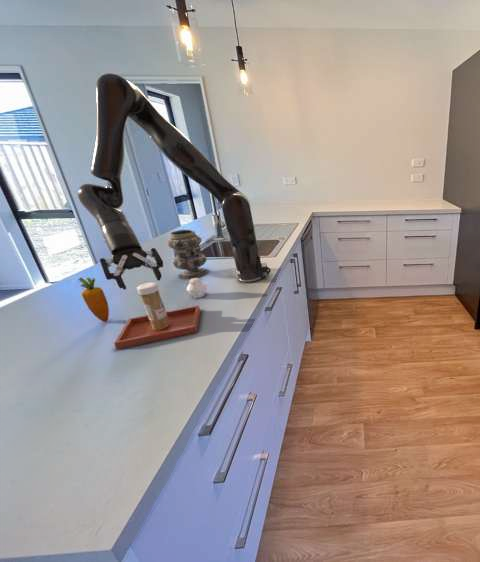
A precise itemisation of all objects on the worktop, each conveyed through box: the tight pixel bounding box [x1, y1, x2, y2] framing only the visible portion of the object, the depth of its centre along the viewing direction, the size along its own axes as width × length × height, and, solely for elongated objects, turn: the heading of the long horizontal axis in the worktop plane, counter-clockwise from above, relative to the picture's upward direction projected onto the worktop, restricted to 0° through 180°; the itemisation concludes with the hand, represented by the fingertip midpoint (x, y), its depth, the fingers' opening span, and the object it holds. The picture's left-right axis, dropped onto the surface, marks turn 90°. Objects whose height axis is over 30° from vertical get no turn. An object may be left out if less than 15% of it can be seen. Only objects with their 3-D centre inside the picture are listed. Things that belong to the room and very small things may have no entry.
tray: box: [114, 305, 201, 350], centre depth 87 cm, size 19×14×2 cm
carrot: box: [77, 277, 110, 323], centre depth 89 cm, size 5×5×15 cm
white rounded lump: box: [186, 277, 208, 299], centre depth 105 cm, size 6×6×7 cm
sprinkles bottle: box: [136, 282, 170, 330], centre depth 85 cm, size 5×5×14 cm
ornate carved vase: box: [166, 229, 208, 279], centre depth 122 cm, size 12×12×18 cm
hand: (142, 283), depth 89 cm, fingers open, 8 cm apart
